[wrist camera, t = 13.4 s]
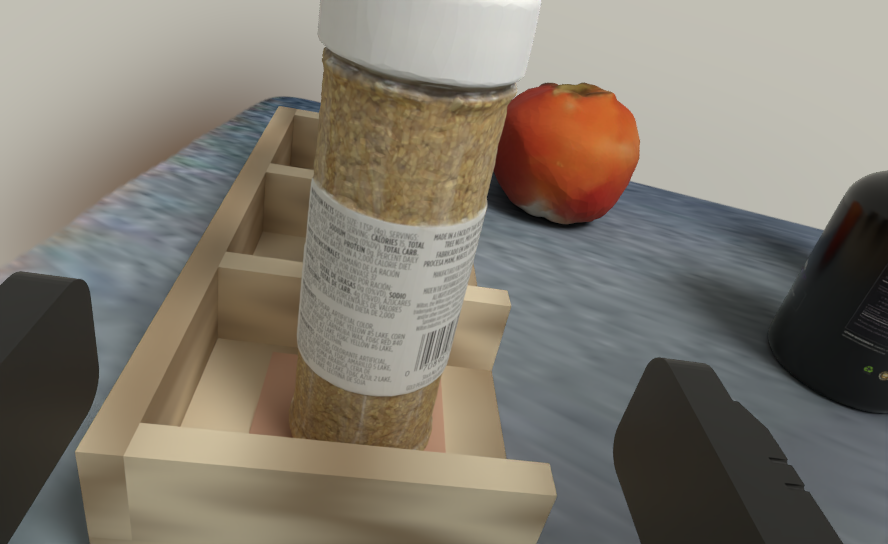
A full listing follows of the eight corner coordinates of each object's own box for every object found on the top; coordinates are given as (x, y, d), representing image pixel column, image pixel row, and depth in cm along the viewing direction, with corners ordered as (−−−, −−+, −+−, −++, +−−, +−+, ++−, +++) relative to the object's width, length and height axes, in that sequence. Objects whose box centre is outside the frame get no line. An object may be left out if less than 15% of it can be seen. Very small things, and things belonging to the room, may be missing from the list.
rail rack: (456, 200, 38) (508, -28, 32) (515, 590, 17) (709, 146, 10) (275, 171, 37) (289, -75, 30) (92, 561, 16) (4, 19, 9)
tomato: (623, 255, 37) (676, 125, 32) (471, 221, 36) (504, 86, 32) (605, 193, 44) (645, 82, 40) (480, 165, 44) (507, 51, 40)
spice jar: (367, 361, 22) (436, -52, 15) (460, 438, 20) (589, -8, 13) (255, 415, 19) (278, -74, 12) (348, 515, 17) (442, -20, 10)
